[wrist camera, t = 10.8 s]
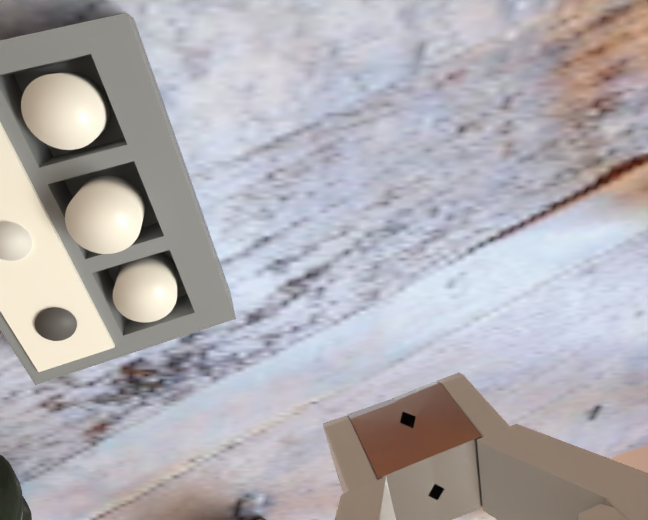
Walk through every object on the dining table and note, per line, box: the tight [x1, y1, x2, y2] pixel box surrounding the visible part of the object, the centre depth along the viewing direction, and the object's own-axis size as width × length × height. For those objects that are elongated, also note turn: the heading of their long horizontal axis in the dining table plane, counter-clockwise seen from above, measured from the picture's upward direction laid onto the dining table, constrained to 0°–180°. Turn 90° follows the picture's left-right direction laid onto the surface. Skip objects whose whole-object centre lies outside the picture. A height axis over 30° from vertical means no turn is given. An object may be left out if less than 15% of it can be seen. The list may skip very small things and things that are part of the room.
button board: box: [0, 13, 236, 385], centre depth 30 cm, size 14×20×4 cm
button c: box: [113, 253, 178, 323], centre depth 32 cm, size 4×4×3 cm
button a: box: [21, 72, 110, 150], centre depth 27 cm, size 4×4×3 cm
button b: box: [65, 176, 145, 254], centre depth 28 cm, size 4×4×3 cm
